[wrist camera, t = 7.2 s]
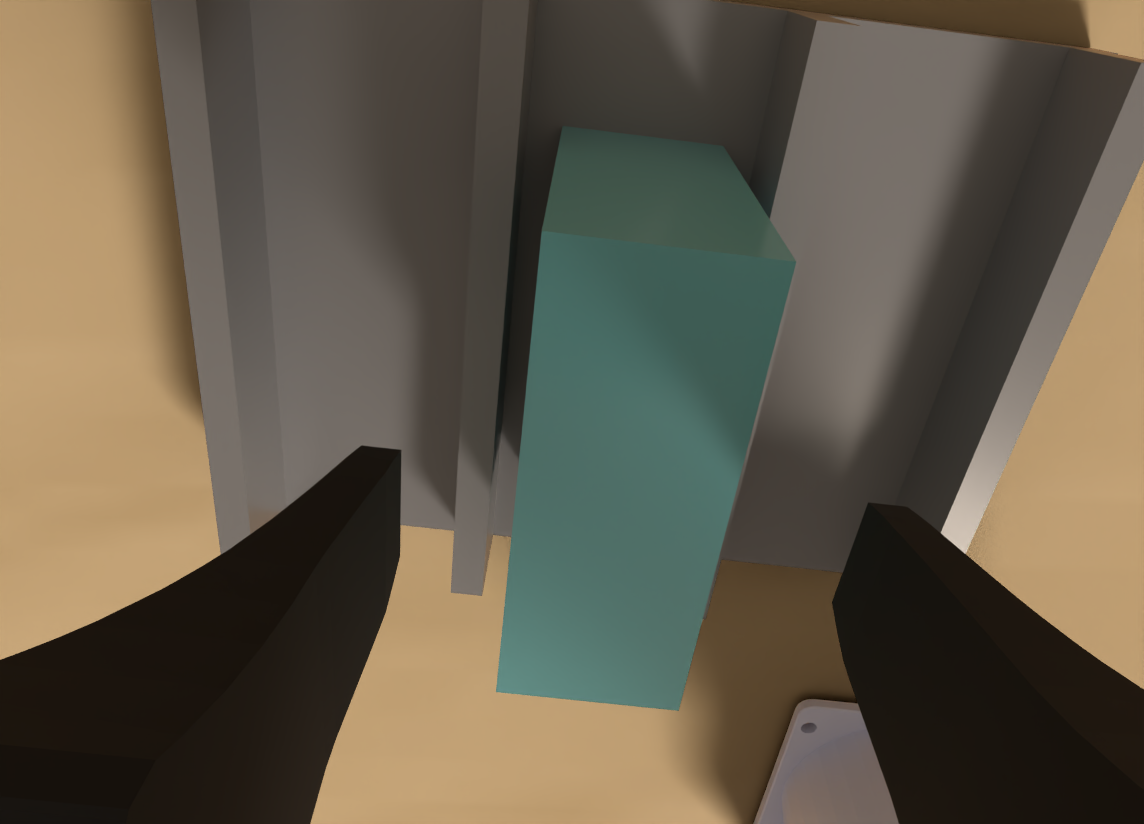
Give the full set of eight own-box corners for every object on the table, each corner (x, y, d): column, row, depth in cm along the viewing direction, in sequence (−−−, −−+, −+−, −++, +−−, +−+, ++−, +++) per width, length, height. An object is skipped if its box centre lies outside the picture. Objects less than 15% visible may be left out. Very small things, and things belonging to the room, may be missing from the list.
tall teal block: (654, 485, 22) (678, 710, 16) (526, 471, 22) (496, 691, 16) (723, 146, 18) (796, 261, 11) (562, 125, 18) (541, 230, 11)
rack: (890, 556, 24) (933, 643, 21) (263, 488, 24) (214, 567, 21) (1091, 48, 17) (1195, 70, 14) (214, -66, 17) (129, -70, 14)
